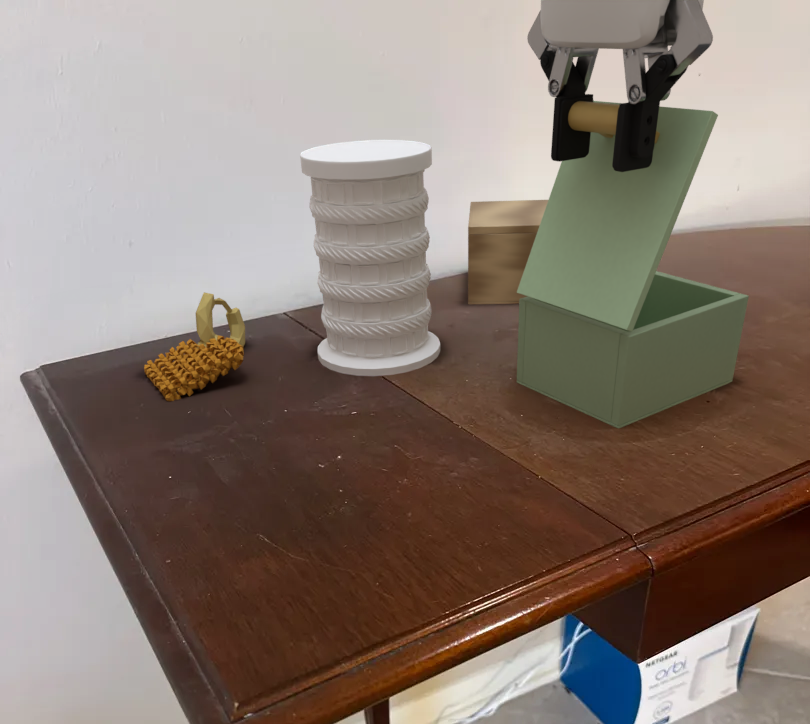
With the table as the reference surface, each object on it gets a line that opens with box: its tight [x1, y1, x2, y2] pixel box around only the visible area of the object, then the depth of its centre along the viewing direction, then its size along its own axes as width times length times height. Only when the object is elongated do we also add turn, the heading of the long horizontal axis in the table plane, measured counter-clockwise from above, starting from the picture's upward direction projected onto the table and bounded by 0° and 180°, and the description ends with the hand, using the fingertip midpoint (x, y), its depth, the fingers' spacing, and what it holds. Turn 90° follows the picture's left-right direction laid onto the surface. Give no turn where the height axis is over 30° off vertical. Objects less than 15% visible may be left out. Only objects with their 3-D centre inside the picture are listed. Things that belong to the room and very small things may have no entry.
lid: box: [517, 100, 719, 332], centre depth 58 cm, size 14×12×5 cm
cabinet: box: [467, 199, 549, 305], centre depth 89 cm, size 14×12×9 cm
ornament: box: [143, 292, 246, 402], centre depth 74 cm, size 7×10×15 cm
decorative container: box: [299, 139, 441, 377], centre depth 72 cm, size 12×12×18 cm
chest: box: [516, 270, 750, 429], centre depth 67 cm, size 14×12×8 cm
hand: (599, 160), depth 56 cm, fingers closed on lid, 5 cm apart
